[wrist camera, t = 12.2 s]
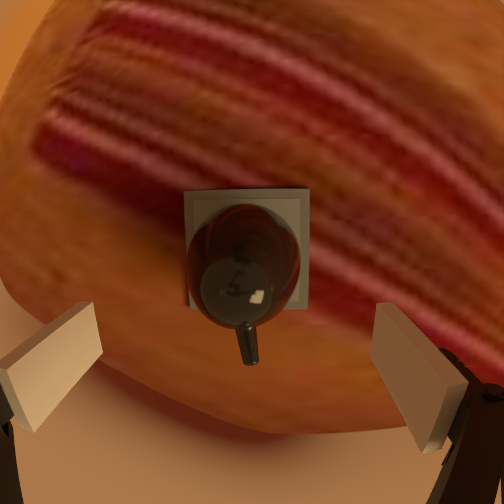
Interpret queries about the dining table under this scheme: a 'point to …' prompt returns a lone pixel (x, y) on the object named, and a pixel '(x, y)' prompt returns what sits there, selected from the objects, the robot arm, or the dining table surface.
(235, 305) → the pump dispenser
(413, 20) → the dining table surface
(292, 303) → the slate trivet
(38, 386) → the robot arm
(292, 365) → the dining table surface
